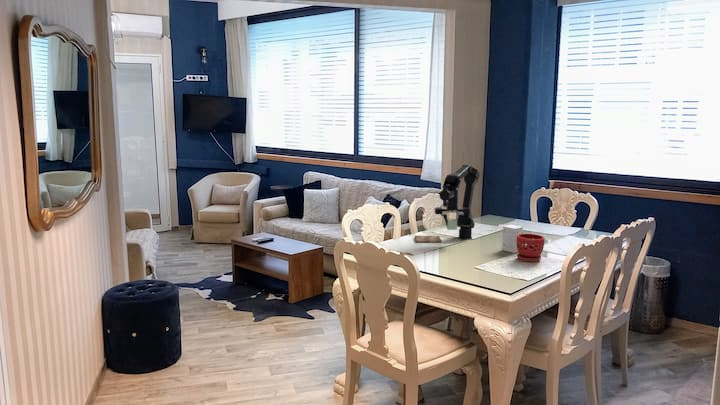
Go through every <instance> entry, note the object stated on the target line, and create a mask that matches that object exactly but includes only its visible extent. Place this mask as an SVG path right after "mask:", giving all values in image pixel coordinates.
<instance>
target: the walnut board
mask: <svg viewBox="0 0 720 405" xmlns="http://www.w3.org/2000/svg"><path fill="white" fill-rule="evenodd" d="M414 240H415V243H416V244H417V243H418V244H419V243H420V244H422V243H423V244H425V243H426V244H429V243H430V244H431V243H432V244H437V243H438V244H439V243H440V244H441V243H442V239H441V237H440V235H415V236H414Z"/></svg>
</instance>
